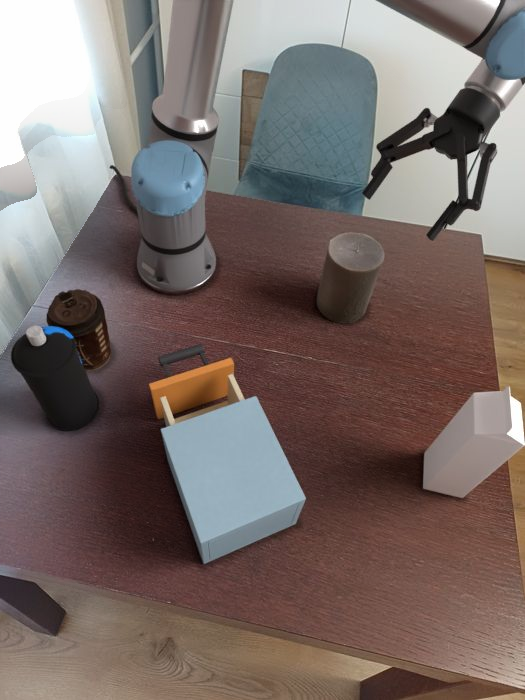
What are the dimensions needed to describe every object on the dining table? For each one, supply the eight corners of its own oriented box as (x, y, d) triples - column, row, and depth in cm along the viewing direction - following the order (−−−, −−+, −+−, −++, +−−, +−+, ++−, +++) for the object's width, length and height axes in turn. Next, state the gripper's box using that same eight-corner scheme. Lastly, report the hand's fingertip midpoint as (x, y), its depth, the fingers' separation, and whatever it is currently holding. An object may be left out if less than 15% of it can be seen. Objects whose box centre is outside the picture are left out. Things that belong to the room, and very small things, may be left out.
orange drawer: (145, 383, 81) (137, 352, 73) (218, 360, 84) (217, 328, 77) (185, 498, 70) (181, 475, 63) (266, 466, 74) (271, 440, 67)
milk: (422, 489, 74) (484, 422, 56) (423, 452, 78) (482, 378, 60) (463, 498, 74) (539, 434, 56) (462, 461, 77) (534, 389, 59)
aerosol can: (87, 436, 76) (50, 364, 59) (36, 425, 76) (-15, 350, 60) (107, 391, 80) (78, 312, 64) (59, 381, 81) (18, 300, 65)
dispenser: (167, 461, 74) (160, 428, 65) (252, 429, 78) (256, 395, 69) (203, 564, 66) (200, 543, 57) (295, 523, 70) (306, 498, 61)
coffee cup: (72, 333, 87) (51, 282, 76) (120, 335, 87) (106, 284, 76) (61, 375, 82) (37, 327, 71) (112, 377, 82) (96, 329, 71)
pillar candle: (358, 330, 91) (379, 273, 79) (308, 313, 93) (321, 254, 81) (371, 294, 96) (393, 235, 84) (324, 278, 98) (338, 218, 86)
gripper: (553, 146, 76) (461, 261, 82) (422, 80, 86) (348, 187, 91) (555, 125, 69) (455, 252, 75) (413, 56, 79) (334, 173, 85)
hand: (396, 216), depth 83 cm, fingers open, 13 cm apart
